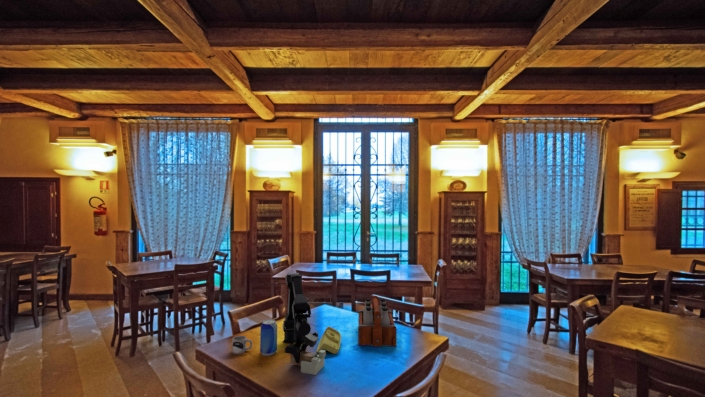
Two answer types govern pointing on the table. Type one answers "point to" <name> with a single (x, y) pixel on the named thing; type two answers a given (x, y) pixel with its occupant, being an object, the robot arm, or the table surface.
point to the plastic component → (330, 341)
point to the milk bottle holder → (376, 324)
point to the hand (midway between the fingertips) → (299, 361)
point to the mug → (240, 344)
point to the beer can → (268, 337)
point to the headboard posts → (314, 364)
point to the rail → (303, 357)
